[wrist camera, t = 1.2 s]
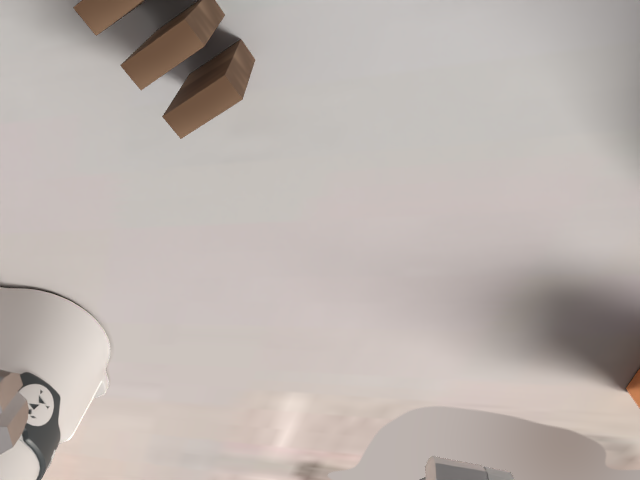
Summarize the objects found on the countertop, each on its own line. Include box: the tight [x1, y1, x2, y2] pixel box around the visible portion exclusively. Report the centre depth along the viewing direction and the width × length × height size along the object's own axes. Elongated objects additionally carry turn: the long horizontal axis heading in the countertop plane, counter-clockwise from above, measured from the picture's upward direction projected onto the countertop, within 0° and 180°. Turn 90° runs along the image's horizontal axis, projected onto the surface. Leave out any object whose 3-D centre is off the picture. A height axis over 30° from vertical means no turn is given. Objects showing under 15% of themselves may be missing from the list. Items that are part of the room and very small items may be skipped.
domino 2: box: [120, 0, 225, 90], centre depth 35 cm, size 2×5×9 cm, turn 122°
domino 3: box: [162, 40, 255, 139], centre depth 37 cm, size 2×5×9 cm, turn 121°
